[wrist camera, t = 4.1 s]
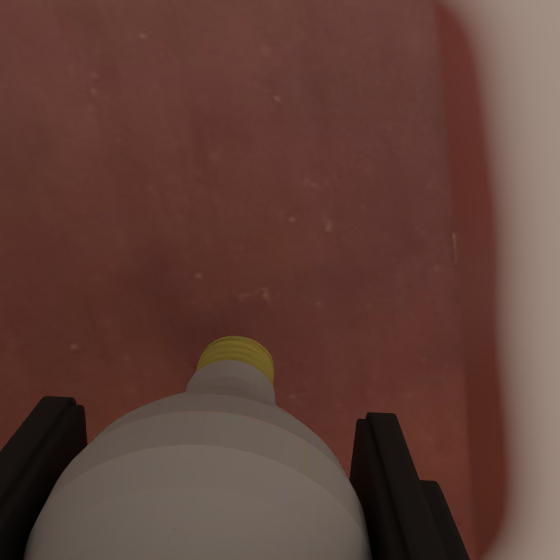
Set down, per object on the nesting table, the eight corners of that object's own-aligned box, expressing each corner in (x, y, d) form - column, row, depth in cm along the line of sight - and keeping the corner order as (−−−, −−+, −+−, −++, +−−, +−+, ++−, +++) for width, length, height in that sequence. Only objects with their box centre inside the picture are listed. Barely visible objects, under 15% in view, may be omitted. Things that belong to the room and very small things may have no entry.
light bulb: (160, 247, 14) (-66, 543, 5) (353, 293, 15) (485, 644, 5) (130, 415, 16) (-81, 869, 7) (302, 451, 17) (335, 925, 7)
